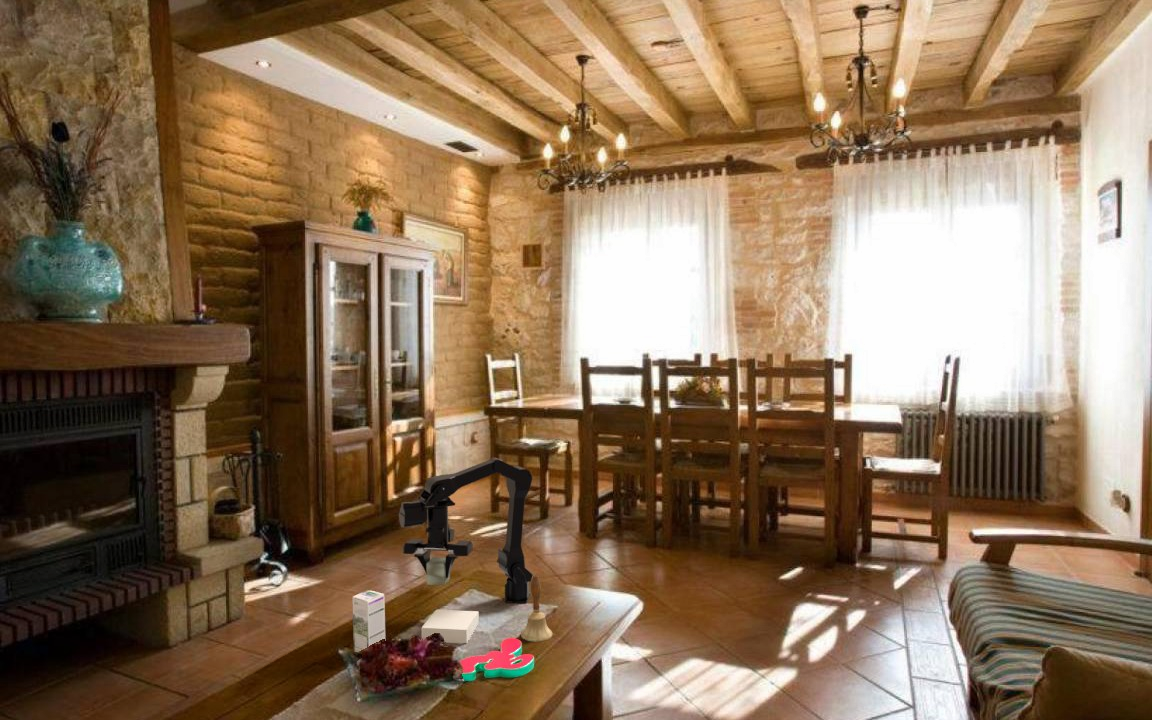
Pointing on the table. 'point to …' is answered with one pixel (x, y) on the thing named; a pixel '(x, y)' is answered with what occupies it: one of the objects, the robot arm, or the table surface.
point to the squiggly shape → (499, 662)
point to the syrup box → (368, 619)
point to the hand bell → (536, 618)
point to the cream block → (452, 625)
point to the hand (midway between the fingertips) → (438, 577)
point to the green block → (437, 571)
